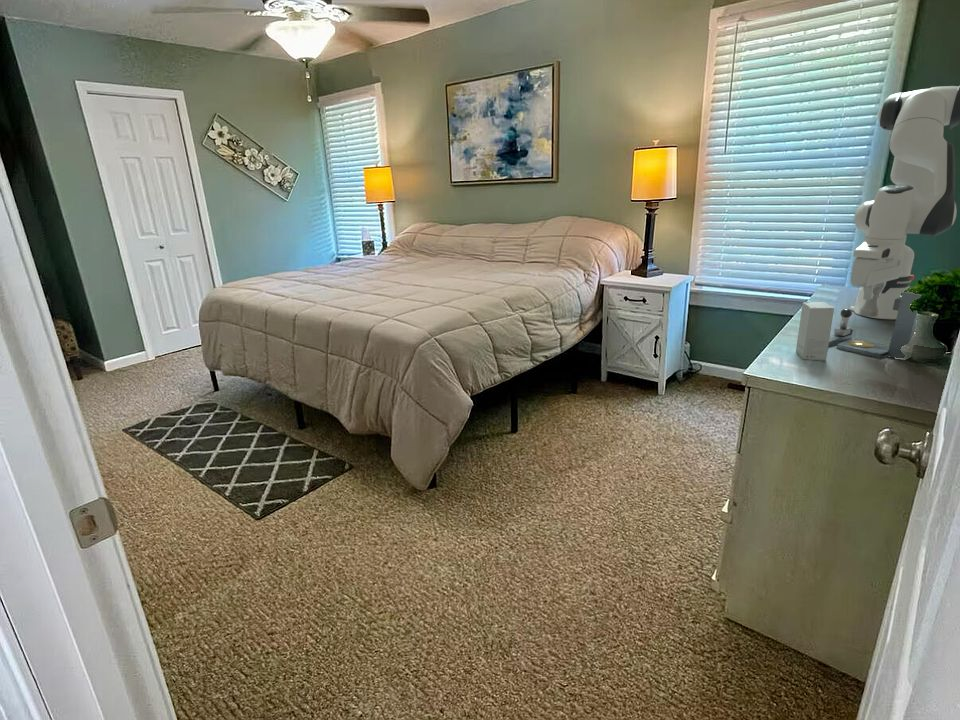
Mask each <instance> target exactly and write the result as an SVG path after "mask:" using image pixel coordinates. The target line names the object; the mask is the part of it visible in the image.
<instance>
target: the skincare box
mask: <svg viewBox="0 0 960 720" xmlns="http://www.w3.org/2000/svg"><path fill="white" fill-rule="evenodd" d="M834 311H835V307H833V306H831V305H830V304H828V302H825V301H821V302H820V301H819V302H818V301H816V302H815V301H814V302H813V301H812V302H811V301H810V302H808V301H806V302H805V301H803V302H802V306H801V311H800V319H799V327H798V332H797V333H798V334H797V340H796V347H795V352H796V353H797V354H798V355H799V357H800V358H801V359H803V360H811V361H812V360H813V361H822V362H823V361H827V359H828V351H829V347H828V345H829V339H830V336H831V331H832V325H833V317H834V313H835V312H834Z"/></svg>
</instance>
